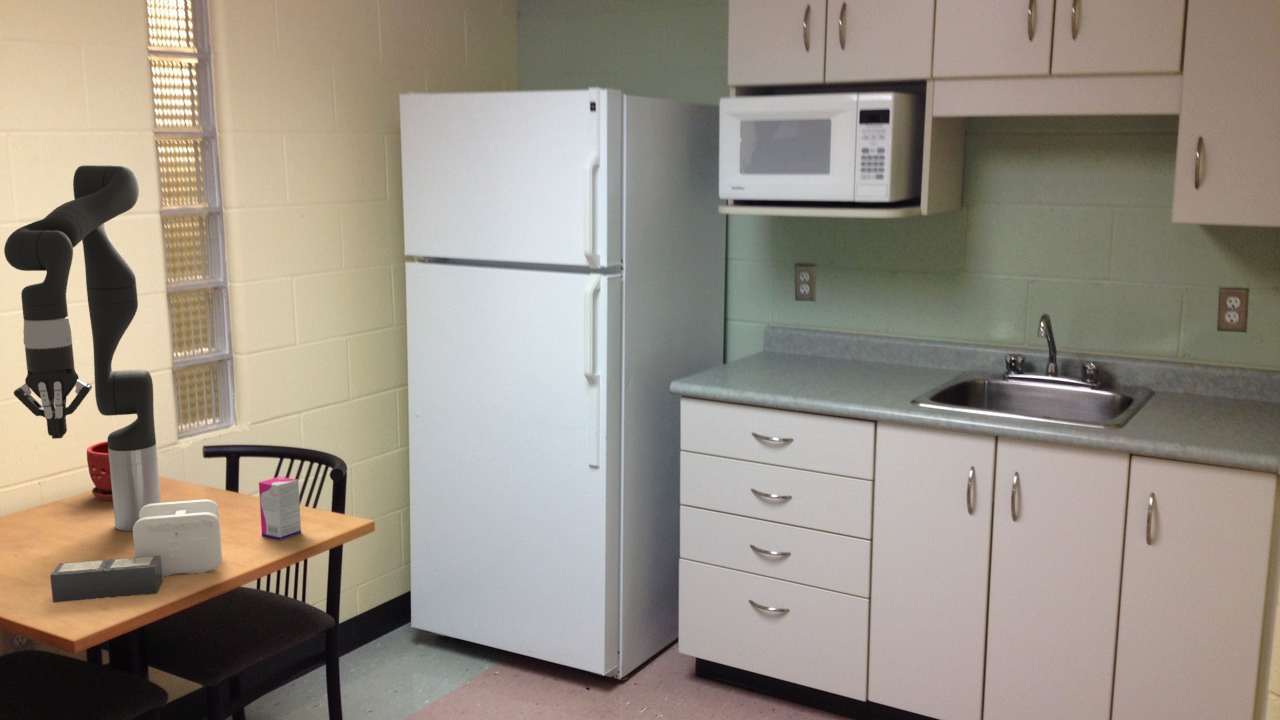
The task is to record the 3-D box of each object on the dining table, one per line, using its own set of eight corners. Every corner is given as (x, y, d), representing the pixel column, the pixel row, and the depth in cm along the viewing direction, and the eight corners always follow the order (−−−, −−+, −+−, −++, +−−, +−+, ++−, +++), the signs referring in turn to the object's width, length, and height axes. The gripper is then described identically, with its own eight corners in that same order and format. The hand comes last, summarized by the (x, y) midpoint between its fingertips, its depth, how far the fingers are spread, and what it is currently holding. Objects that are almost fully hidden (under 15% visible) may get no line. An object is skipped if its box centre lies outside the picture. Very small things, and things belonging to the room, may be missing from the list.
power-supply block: (61, 590, 205) (59, 562, 204) (162, 581, 209) (160, 554, 208) (53, 602, 199) (50, 574, 198) (156, 593, 203) (154, 565, 202)
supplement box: (302, 532, 236) (299, 479, 234) (280, 540, 231) (276, 486, 229) (282, 528, 239) (279, 475, 237) (260, 536, 234) (256, 482, 232)
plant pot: (85, 506, 255) (80, 454, 253) (96, 490, 268) (92, 440, 266) (148, 501, 258) (144, 450, 256) (156, 486, 271) (152, 437, 269)
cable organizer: (226, 554, 223) (222, 497, 221) (221, 573, 213) (217, 513, 211) (144, 562, 219) (139, 504, 217) (135, 581, 209) (130, 520, 207)
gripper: (93, 338, 208) (101, 430, 211) (13, 341, 205) (23, 434, 208) (84, 345, 201) (93, 440, 204) (1, 348, 197) (11, 445, 201)
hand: (57, 437), depth 206 cm, fingers closed
